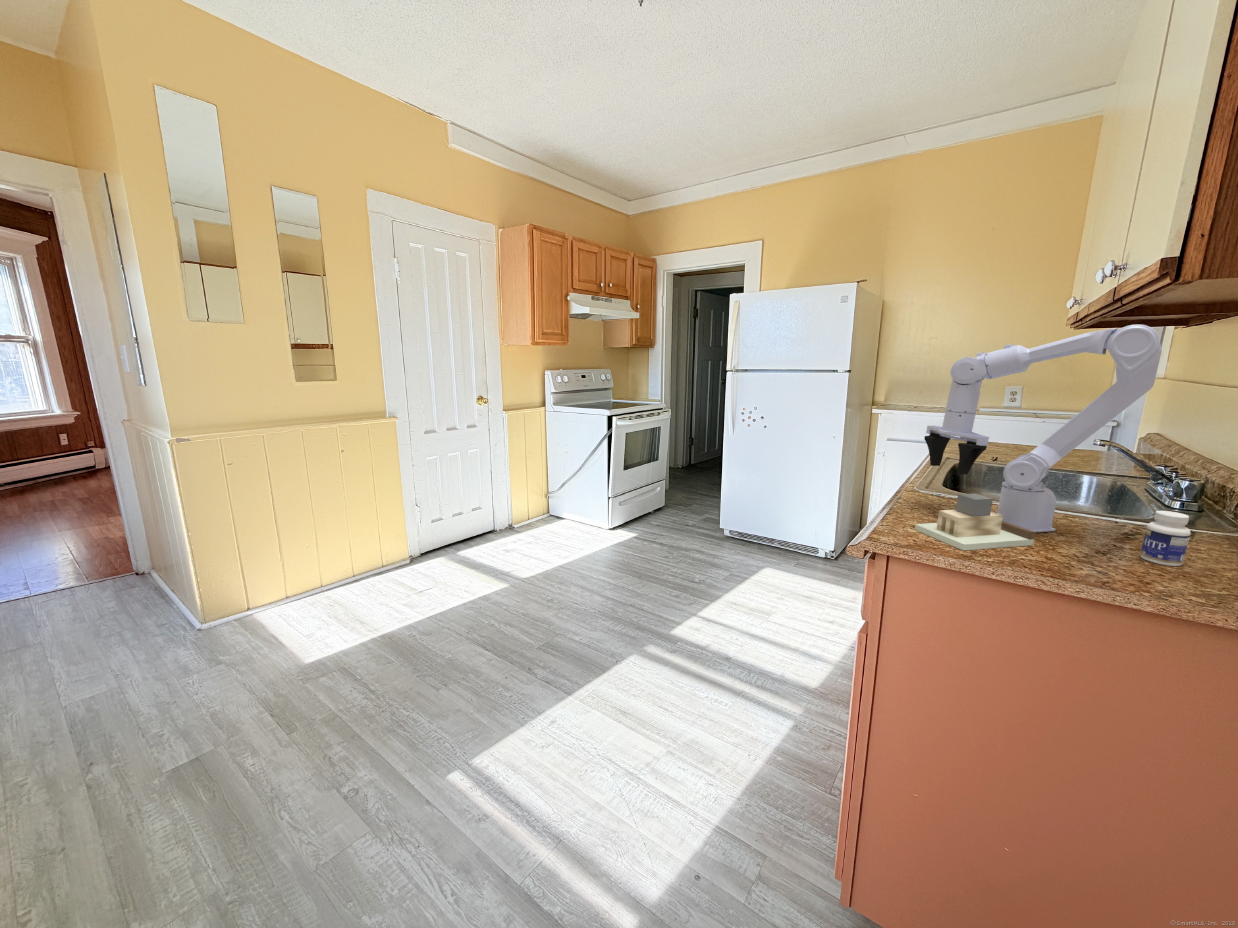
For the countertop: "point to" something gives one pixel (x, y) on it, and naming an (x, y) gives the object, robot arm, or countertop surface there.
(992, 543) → the pale green flat slab
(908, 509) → the countertop surface
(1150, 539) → the pill bottle
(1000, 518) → the pallet
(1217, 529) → the countertop surface
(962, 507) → the gray cube
